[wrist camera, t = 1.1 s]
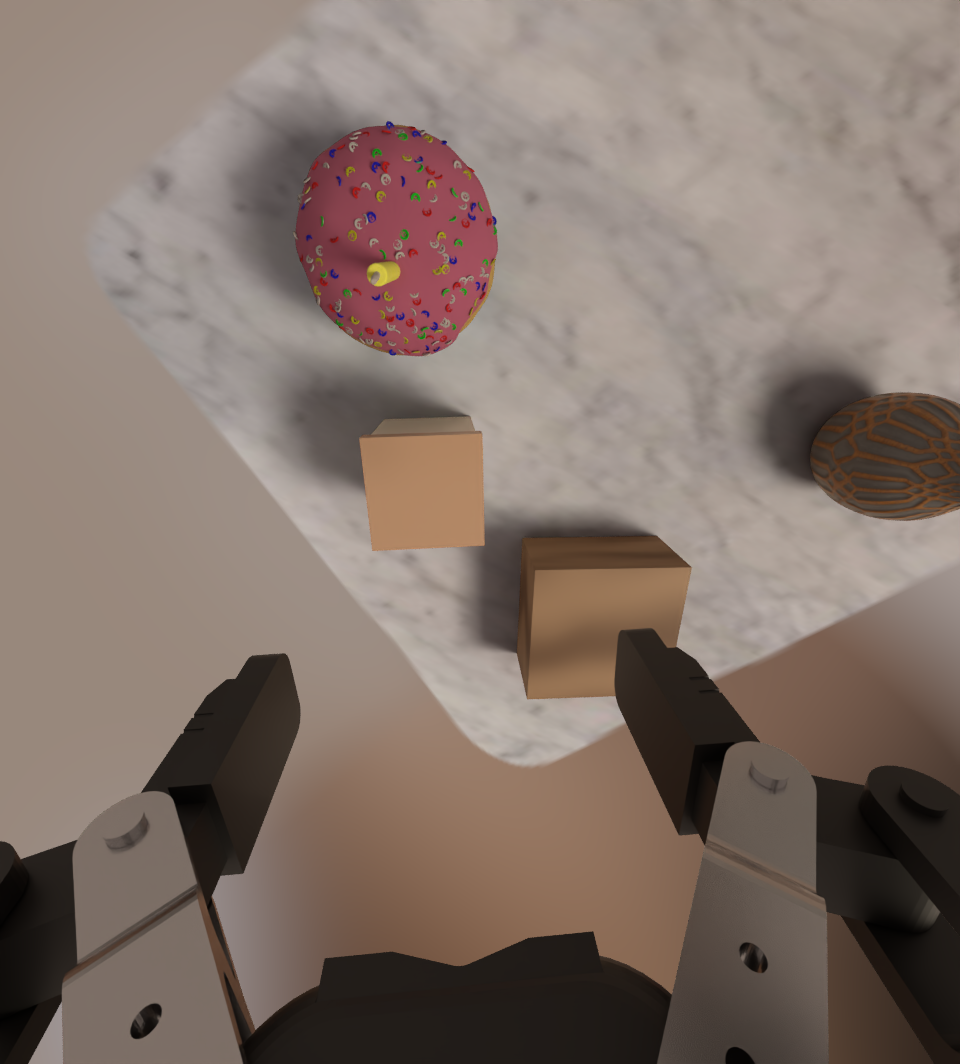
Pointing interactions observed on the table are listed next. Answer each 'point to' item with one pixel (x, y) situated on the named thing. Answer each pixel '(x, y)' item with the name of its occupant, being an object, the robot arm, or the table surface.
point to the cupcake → (396, 239)
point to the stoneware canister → (424, 483)
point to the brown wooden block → (592, 608)
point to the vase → (892, 456)
